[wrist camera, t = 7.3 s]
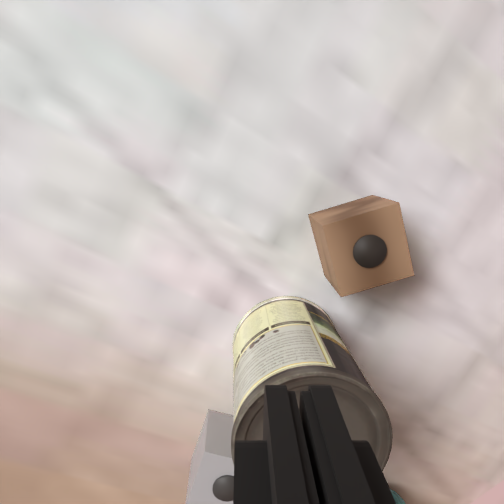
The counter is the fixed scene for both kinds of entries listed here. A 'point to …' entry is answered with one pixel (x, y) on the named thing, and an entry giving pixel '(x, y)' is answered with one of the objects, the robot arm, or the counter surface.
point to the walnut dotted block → (362, 244)
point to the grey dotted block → (212, 462)
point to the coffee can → (301, 370)
